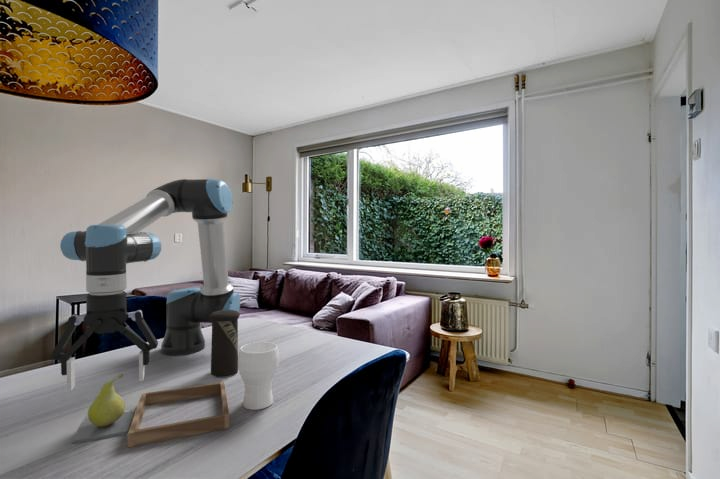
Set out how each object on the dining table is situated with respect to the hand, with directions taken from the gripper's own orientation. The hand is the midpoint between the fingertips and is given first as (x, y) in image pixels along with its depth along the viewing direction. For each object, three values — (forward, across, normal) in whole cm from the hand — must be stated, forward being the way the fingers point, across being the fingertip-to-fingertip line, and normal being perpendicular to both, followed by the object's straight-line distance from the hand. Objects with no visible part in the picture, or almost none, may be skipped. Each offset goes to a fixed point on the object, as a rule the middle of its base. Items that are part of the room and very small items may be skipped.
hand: (107, 383), depth 83 cm
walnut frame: (+10, +16, -2) cm, 19 cm away
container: (+11, +27, +23) cm, 37 cm away
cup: (+10, +34, -2) cm, 35 cm away
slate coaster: (+10, 0, -1) cm, 10 cm away
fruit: (+10, 0, 0) cm, 10 cm away
